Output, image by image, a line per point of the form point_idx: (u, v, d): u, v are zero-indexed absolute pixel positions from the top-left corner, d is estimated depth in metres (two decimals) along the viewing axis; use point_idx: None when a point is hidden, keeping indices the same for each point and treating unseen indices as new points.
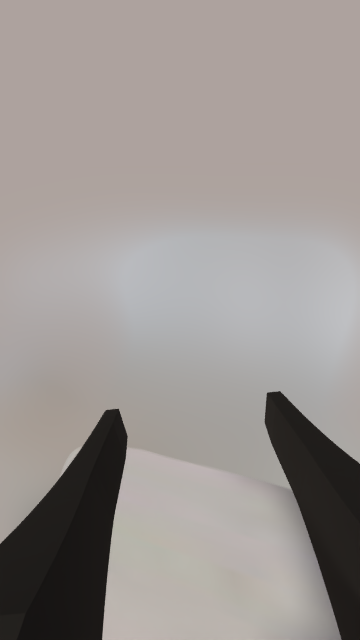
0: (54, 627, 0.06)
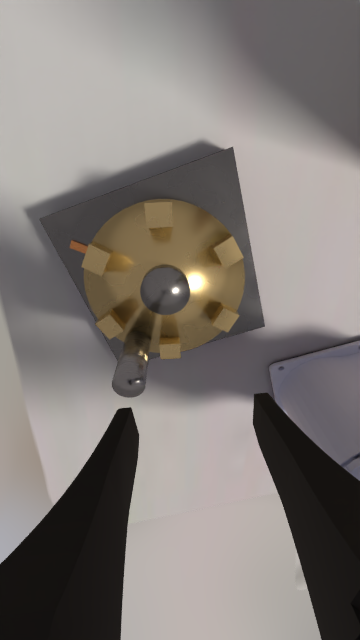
0: (80, 625, 0.06)
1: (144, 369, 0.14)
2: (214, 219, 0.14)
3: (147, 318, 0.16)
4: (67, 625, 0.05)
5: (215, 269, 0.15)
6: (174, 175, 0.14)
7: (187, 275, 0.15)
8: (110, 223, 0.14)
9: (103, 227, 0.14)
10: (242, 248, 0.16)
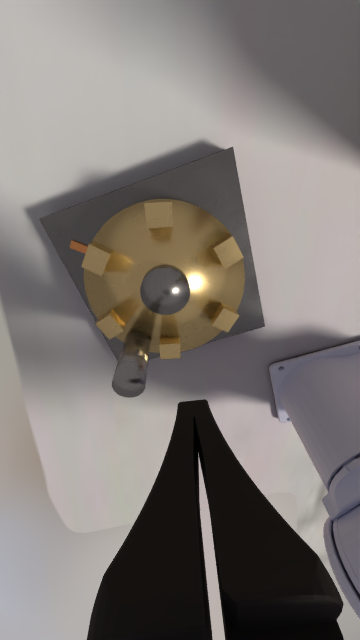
0: (206, 613, 0.06)
1: (144, 369, 0.14)
2: (214, 219, 0.14)
3: (147, 318, 0.16)
4: (205, 613, 0.05)
5: (215, 269, 0.15)
6: (174, 175, 0.14)
7: (187, 275, 0.15)
8: (110, 223, 0.14)
9: (103, 227, 0.14)
10: (242, 248, 0.16)
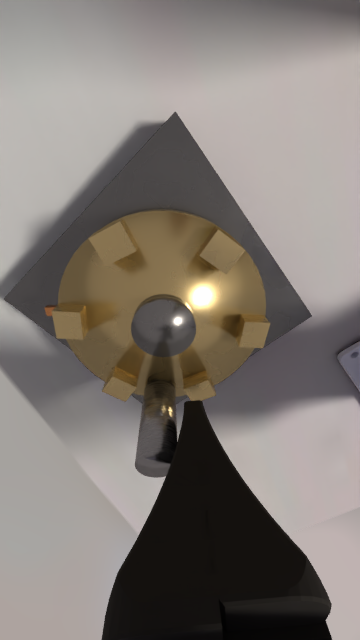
0: None
1: (170, 436, 0.11)
2: (187, 217, 0.10)
3: (159, 363, 0.13)
4: (220, 611, 0.05)
5: (215, 277, 0.11)
6: (120, 183, 0.11)
7: (184, 299, 0.12)
8: (67, 276, 0.11)
9: (61, 284, 0.11)
10: (242, 234, 0.12)
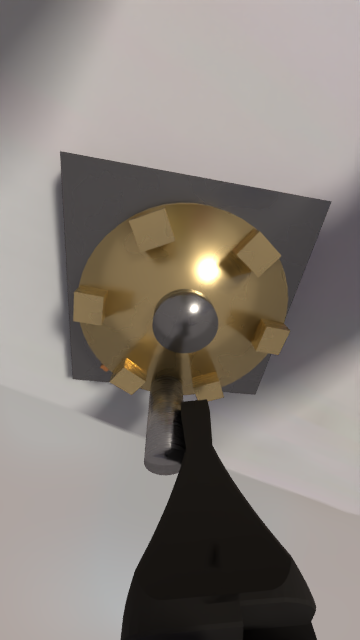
0: None
1: (182, 433, 0.11)
2: (228, 215, 0.10)
3: (171, 359, 0.13)
4: None
5: (244, 279, 0.11)
6: (71, 240, 0.12)
7: (209, 296, 0.11)
8: (95, 257, 0.10)
9: (87, 265, 0.10)
10: (193, 191, 0.11)
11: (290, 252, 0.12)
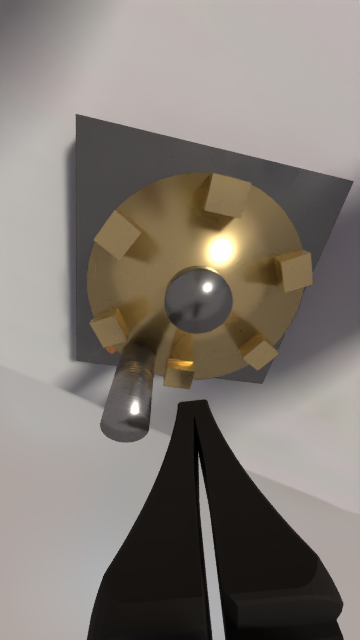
0: (206, 613, 0.06)
1: (149, 405, 0.10)
2: (290, 225, 0.10)
3: (160, 330, 0.12)
4: (205, 612, 0.05)
5: (267, 289, 0.11)
6: (83, 211, 0.11)
7: (230, 288, 0.11)
8: (152, 190, 0.09)
9: (139, 192, 0.09)
10: (211, 163, 0.10)
11: (308, 234, 0.12)
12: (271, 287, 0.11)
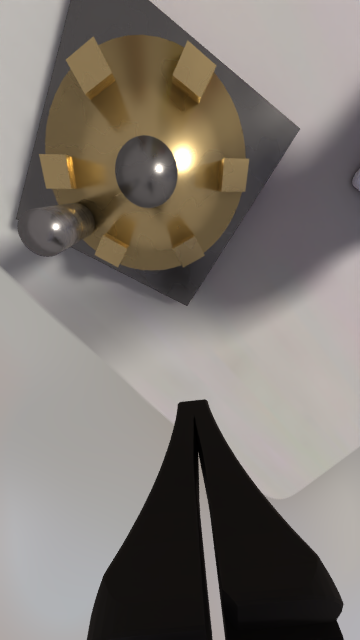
0: (206, 613, 0.06)
1: (73, 233, 0.10)
2: (240, 132, 0.12)
3: (106, 198, 0.13)
4: (205, 612, 0.05)
5: (209, 191, 0.13)
6: (65, 52, 0.12)
7: (178, 177, 0.13)
8: (133, 42, 0.10)
9: (121, 39, 0.10)
10: None
11: (256, 164, 0.14)
12: (213, 190, 0.13)
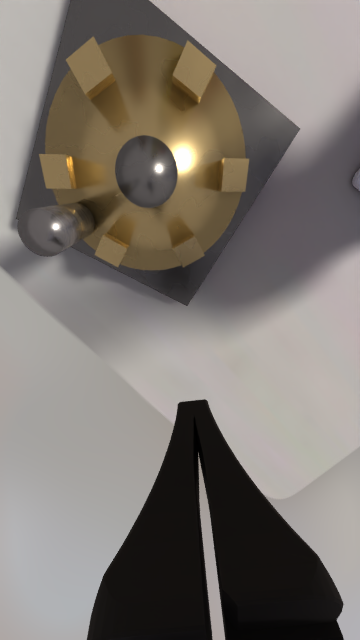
0: (206, 613, 0.06)
1: (73, 233, 0.10)
2: (240, 132, 0.12)
3: (106, 198, 0.13)
4: (205, 612, 0.05)
5: (209, 191, 0.13)
6: (65, 52, 0.12)
7: (178, 177, 0.13)
8: (133, 42, 0.10)
9: (121, 39, 0.10)
10: None
11: (256, 164, 0.14)
12: (213, 190, 0.13)
